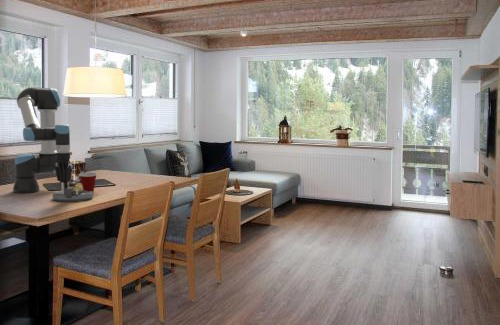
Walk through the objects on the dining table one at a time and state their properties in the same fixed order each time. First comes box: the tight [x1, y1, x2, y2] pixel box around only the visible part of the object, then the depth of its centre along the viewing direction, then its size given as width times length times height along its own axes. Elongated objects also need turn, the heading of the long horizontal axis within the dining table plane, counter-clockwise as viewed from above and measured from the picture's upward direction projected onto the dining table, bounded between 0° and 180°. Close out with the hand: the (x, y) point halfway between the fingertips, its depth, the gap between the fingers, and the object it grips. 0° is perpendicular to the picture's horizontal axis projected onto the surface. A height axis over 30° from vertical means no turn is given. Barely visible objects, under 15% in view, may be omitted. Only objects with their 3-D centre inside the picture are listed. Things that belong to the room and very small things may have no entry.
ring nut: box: [65, 181, 83, 196], centre depth 270 cm, size 18×11×6 cm, turn 9°
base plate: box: [52, 190, 94, 203], centre depth 274 cm, size 22×22×6 cm
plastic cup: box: [78, 171, 98, 193], centre depth 293 cm, size 11×11×12 cm
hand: (64, 193), depth 265 cm, fingers closed
